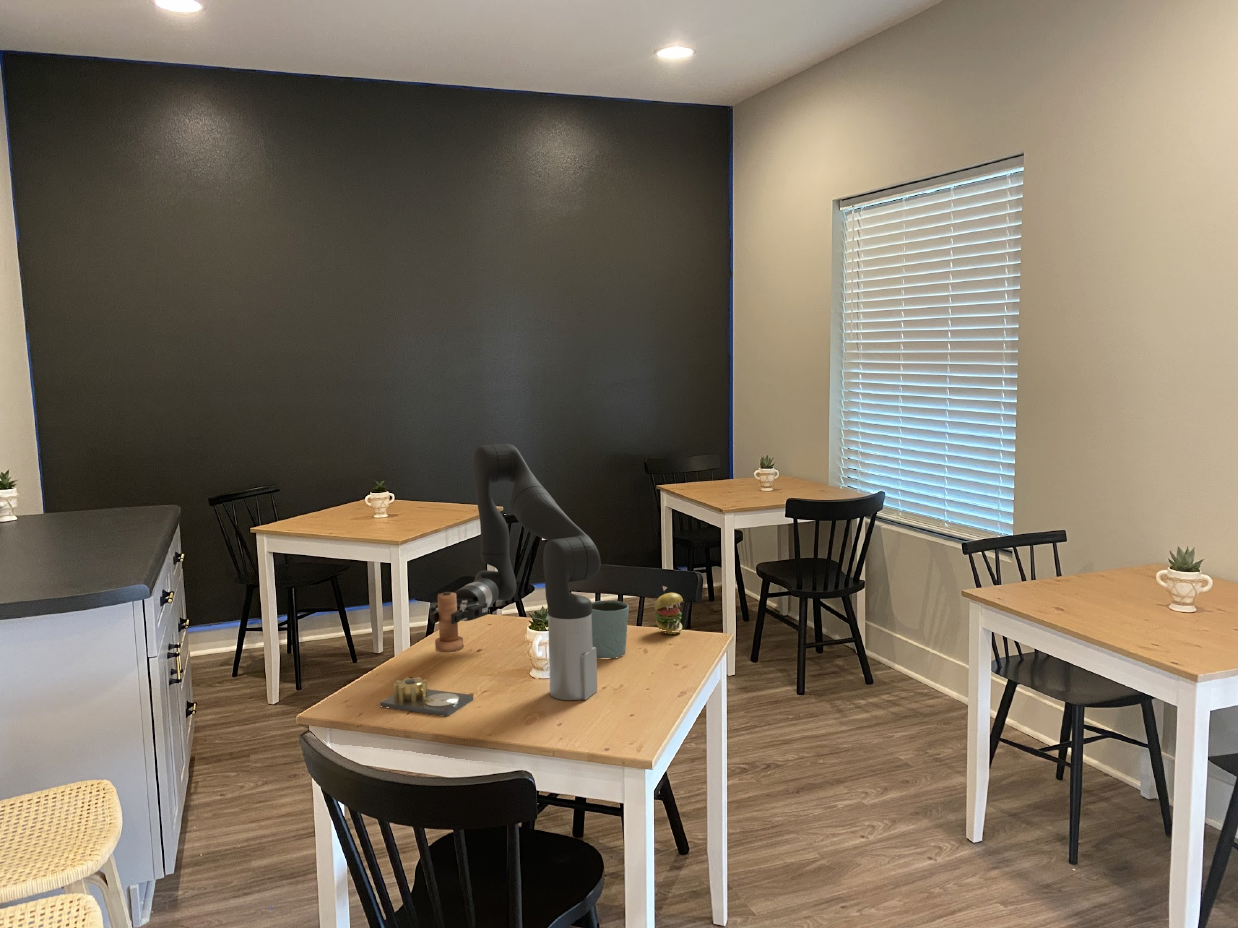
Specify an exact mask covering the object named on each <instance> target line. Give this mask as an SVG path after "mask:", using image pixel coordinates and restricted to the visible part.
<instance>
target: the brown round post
mask: <svg viewBox="0 0 1238 928" xmlns="http://www.w3.org/2000/svg"><path fill="white" fill-rule="evenodd" d="M437 603H438V615H439V622H438V628H439V629H438V630H439V632H438V633H439V636H438V638H436V639H434V647H435V648H434V649H435V651H436V652H439V653H443V654H444V653H446V654H447V653H455V652H459V651H462V650H463V649H464V638H463V637H462V636H459V627H458V626H459V625H458V623H459V622H458V623H456V624H452V622H451V615H452V614H453V613H454V612H456V611H457V599H456V593H454V592H452V591H444V592H442V593H441V592H440V593H438V594H437Z"/></svg>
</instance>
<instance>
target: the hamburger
mask: <svg viewBox="0 0 1238 928" xmlns="http://www.w3.org/2000/svg"><path fill="white" fill-rule="evenodd" d="M662 589H663V592H664V594H662V595H660V596H659V597H658V598H657V599H656V600H655V602H654V609H655V614H656V617H655V619H656V626H657V628H658V630H660V629H662V630H666V631H661V632H662V633H664V632H666V633H665V634H667V635H672V634H673V635H677V634H676V633H678V634H679V633H681V631H682V629H683V624H682V623H681V619H682V614H683V612H681V611H680V608H681V603H683V602H684V599H683V597H682V595H680V593H679V594H678V593H676V592H668V593H665V590H666V589H668V587H667V586H664V585H662ZM674 606H676V607H674ZM672 631H679V632H672Z"/></svg>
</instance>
